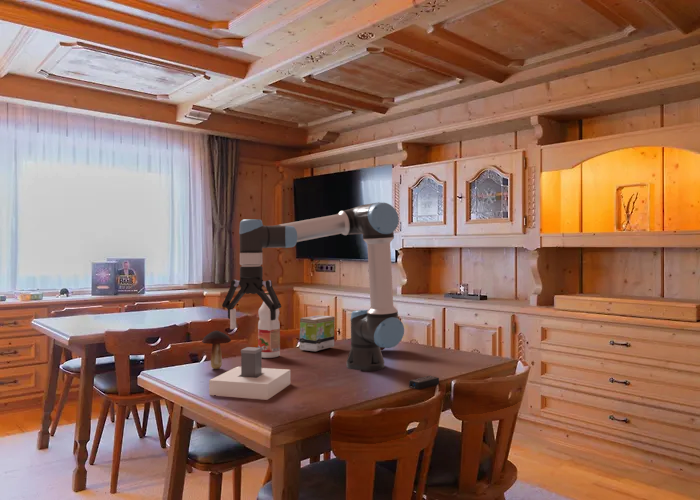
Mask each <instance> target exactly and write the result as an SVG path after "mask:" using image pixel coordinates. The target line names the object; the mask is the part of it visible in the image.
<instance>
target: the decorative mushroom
mask: <svg viewBox="0 0 700 500" xmlns="http://www.w3.org/2000/svg"><path fill="white" fill-rule="evenodd" d="M231 341H232V339H231V338H230V336H229V335H227V334H226V333H225V332H222V331H220V330H213V331H211V332H209V333H207V334H206V335H205V336H204V337H203V339H202V341H201V343H203V344H209V345H210V344H211V352H210V366H211V368H212V369H213V370H219V369H220V368H221V367H222V366H223V357H222V356H223V355H222V354H223V353H222V348H221V344H228V343H230V342H231Z"/></svg>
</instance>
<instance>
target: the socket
mask: <svg viewBox="0 0 700 500" xmlns="http://www.w3.org/2000/svg"><path fill="white" fill-rule="evenodd" d="M208 382H209V383H208V384H209V389H208V391H209V392H208V393H209V394H208V395H209V396H214V395H216V396H217V397H228V398H240V399H241V398H242V399H252V400H262V401H264V400H266V401H268V400H269V399H271V398H273V396H275V395H277V394H278V393H280V392H281V391H283V390H284V389H286V388H287V387H288V386H290V385H291V369H287V368H285V369H284V368H269V367H262V375H261V376H259V377H257V378H251V377H241V366H236V367H234V368H231V369H229V370H227V371H226V372H223V373H221V374H219V375H217V376H215V377H213V378H211V379H209V381H208Z"/></svg>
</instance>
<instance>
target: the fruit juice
mask: <svg viewBox="0 0 700 500" xmlns="http://www.w3.org/2000/svg"><path fill="white" fill-rule="evenodd" d="M264 292H265V294H266V295H267V296H268V297H269V299H270V300H271V298H270V295H269V293H268V291H267V290H266V291H264ZM271 301H272V300H271ZM272 303H273V302H272ZM269 310H270V309H269V308H268V306H267V305H266V304H265V302H264V301H263V300H262V304H261V306H260V307H259V308H258V311H257V313H258V318H259V320H258V323H257V348H262V358H263V359H272V358H278V357H279V356H280V355H281V343H280V342H281V333H280V332H281V329H280V327H281V324H280V320H279V318H280V308H278V309H276V319H275V320H273V330H271V331H268V311H269Z"/></svg>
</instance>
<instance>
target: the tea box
mask: <svg viewBox="0 0 700 500" xmlns="http://www.w3.org/2000/svg"><path fill="white" fill-rule="evenodd" d="M335 317H336V316H332V315H322V314H321V315H320V314H318V315H312V316H306V317H300V318H299V319H300V320H299V350H303V351H310V352H318V351H322V350H326V349H330V348H334V347H335V331H336V330H335V329H336V328H335V326H336V325H335V323H336V321H335V320H336V319H335Z"/></svg>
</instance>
